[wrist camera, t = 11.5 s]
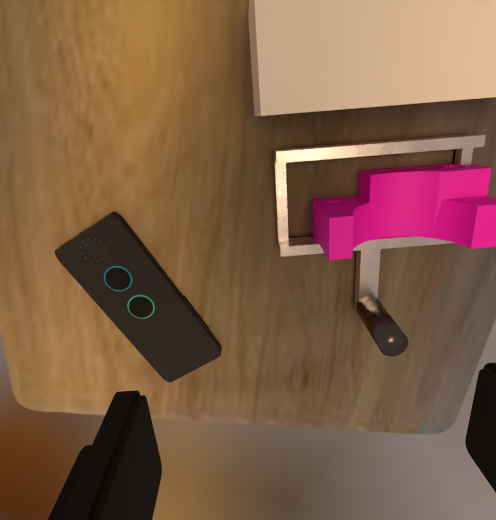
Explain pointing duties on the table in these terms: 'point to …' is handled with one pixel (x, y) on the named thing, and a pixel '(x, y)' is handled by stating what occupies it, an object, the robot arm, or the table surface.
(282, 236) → the slider
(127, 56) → the table surface
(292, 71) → the tunnel
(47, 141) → the table surface
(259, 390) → the table surface
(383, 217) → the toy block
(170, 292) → the smart home device
